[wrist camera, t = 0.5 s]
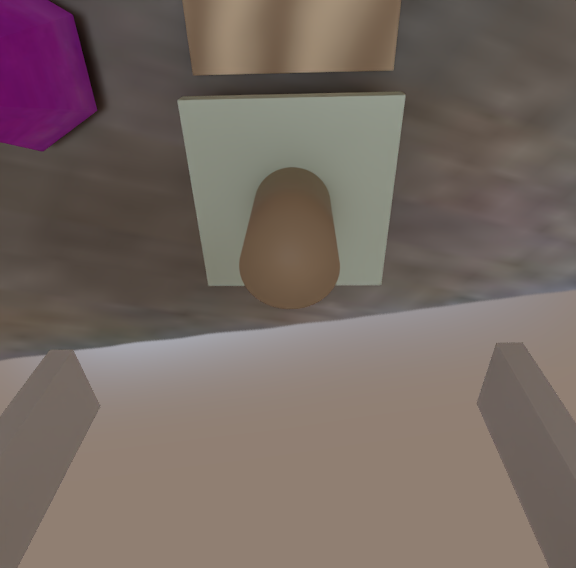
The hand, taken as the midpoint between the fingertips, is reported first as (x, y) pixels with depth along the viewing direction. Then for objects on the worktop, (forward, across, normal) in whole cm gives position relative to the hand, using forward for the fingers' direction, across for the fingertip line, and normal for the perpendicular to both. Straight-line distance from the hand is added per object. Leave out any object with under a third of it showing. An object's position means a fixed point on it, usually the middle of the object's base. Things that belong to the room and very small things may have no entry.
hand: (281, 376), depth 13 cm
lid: (+17, 0, -1) cm, 17 cm away
